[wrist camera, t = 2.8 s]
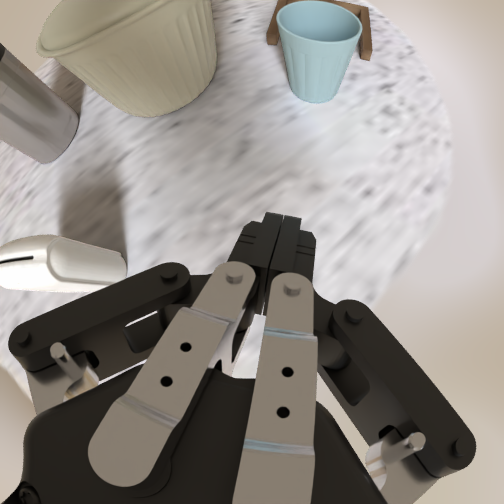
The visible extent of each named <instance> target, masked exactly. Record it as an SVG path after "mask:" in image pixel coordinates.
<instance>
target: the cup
mask: <svg viewBox="0 0 504 504" xmlns="http://www.w3.org/2000/svg"><path fill="white" fill-rule="evenodd" d="M276 20H277V24H278V29H279V33H280V37H281V42H282V47H283V52H284V57H285V62H286V67H287V73H288V78H289V83H290V87H291V90H292V92H293V93H294V94H295V95H296V96H297V97H298V98H300V99H301V100H304V101H306V102H310V103H324V102H327V101H329V100H331V99H332V98H333V97H334V96H335V95H336V93H337V91H338V89H339V87H340V84H341V82H342V79H343V77H344V75H345V72H346V70H347V67H348V65H349V62H350V60H351V57H352V55H353V52H354V50H355V47H356V45H357V43H358V40H359V38H360V35H361V32H362V24H361V22H360V20H359V19H358V18H357V17H356V16H355V15H354V14H353V13H352V12H350V11H349V10H347V9H345V8H343V7H341V6H338V5H336V4H332V3H328V2H323V1H314V0H307V1H298V2H294V3H291V4H288V5H286V6H284V7H283V8H281V9H280V10H279V12H278V13H277V17H276Z"/></svg>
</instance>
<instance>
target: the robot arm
mask: <svg viewBox="0 0 504 504" xmlns="http://www.w3.org/2000/svg"><path fill="white" fill-rule="evenodd" d="M77 126H78V115H77V113H76V112H75V111H74V110H73V109H72V108H71V107H70V106H69V105H68V104H67V103H65V102H64V101H63V100H62V99H61V98H60V97H59V96H58V95H57V94H56V93H55V92H53V91H52V90H51V89H50V88H49V87H48V86H47V85H46V84H45V83H43V82H42V81H41V80H40V79H39V78H38V77H37V76H36V75H35V74H34V73H32V72H31V71H30V70H29V69H28V68H27V67H26V66H25V65H24V64H23V63H21V62H20V61H19V60H18V59H17V58H16V57H15V56H14V55H12V53H10V52H9V51H8V50H7V49H6V48H5V47H4V46H3V45H2V44H1V43H0V140H2V141H4V142H5V143H7V144H9V145H11V146H12V147H14V148H16V149H17V150H19V151H21V152H22V153H24V154H26V155H27V156H29V157H31V158H33V159H34V160H36V161H38V162H40V163H42V164H47V163H50V162H52V161H54V160H55V159H56V158H58V157H59V156H60V155H61V154H62V153H63V152H64V151H65V149H66V148H67V147H68V145H69V144H70V142H71V141H72V139H73V137H74V135H75V132H76V130H77ZM301 219H302V218H297V217H292V216H287V215H285V216H284V219H283V215H281V214H276V213H270V212H266V214H265V216H264V219H263V221H262V223H260V222H255V221H251V222H250V223H248V224H247V225H246V226H244V228H243V230H242V232H241V234H240V236H239V238H238V240H237V242H236V244H235V246H234V248H233V250H232V252H231V254H230V257H229V259H228V261H227V262H226V263H223V264H221V265H219V266H218V267H217V268H216V269H215V270H214V272H213V273H212V274H208V275H190V273H189V270H188V269H187V268H186V267H185V266H184V265H182V264H180V263H175V262H169V263H163V264H160V265H158V266H155V267H153V268H151V269H148V270H146V271H143V272H141V273H138V274H136V275H133V276H131V277H129V278H126V279H124V280H121V281H119V282H117V283H114V284H112V285H109V286H107V287H105V288H102V289H100V290H98V291H95V292H93V293H91V294H88V295H86V296H83V297H81V298H79V299H76V300H74V301H72V302H70V303H67V304H65V305H63V306H60V307H58V308H56V309H53V310H51V311H49V312H47V313H44V314H42V315H40V316H38V317H35V318H33V319H31V320H29V321H26V322H24V323H22V324H20V325H18V326H17V327H16V328H15V329H14V330H13V331H12V333H11V335H10V337H9V341H8V347H9V350H10V352H11V353H12V354H13V356H14V357H15V358H16V359H17V360H18V361H19V363H20V364H21V365H22V367H23V368H24V369H25V371H26V374H27V378H28V383H29V387H30V392H31V396H32V400H33V403H34V407H35V411H36V414H37V416H36V417H35V418H34V419H33V420H32V421H31V423H30V424H29V426H28V427H27V430H26V432H25V436H24V443H23V447H24V449H23V450H24V459H23V460H24V462H23V472H22V478H21V481H20V484H19V486H18V487H17V489H16V490H15V491H14V492H13V493H12V494H11V495H10V496H9V497H8V498H7V499H6V500H5V501H4V502H2V503H1V504H413V503H414V502H415V501H416V500H417V499H419V498H420V497H421V496H422V495H423V494H424V493H425V492H426V491H427V490H428V489H429V488H430V487H431V486H432V485H433V484H434V483H435V482H436V481H437V480H438V479H440V478H442V477H444V476H447V475H449V474H452V473H454V472H457V471H459V470H461V469H464V468H465V467H467V466H468V465H469V464H470V463H471V462H472V460H473V458H474V456H475V452H476V441H475V438H474V436H473V434H472V432H471V431H470V430H469V428H468V427H467V426H466V424H465V423H464V422H463V420H462V419H461V418H460V416H459V415H458V414H457V412H456V411H455V410H454V409H453V407H451V405H450V404H449V402H448V401H447V400H446V399H445V397H444V396H443V395H442V393H441V392H440V391H439V390H438V388H437V387H436V386H435V385H434V384H433V382H432V381H431V380H430V379H429V377H428V376H427V375H426V374H425V373H424V371H423V370H422V369H421V368H420V366H419V365H418V364H417V363H416V362H415V360H414V359H413V358H412V357H411V356H410V355H409V353H408V352H407V351H406V350H405V349H404V348H403V346H402V345H401V344H400V343H399V342H398V340H397V339H396V338H395V337H394V336H393V335H392V334H391V332H390V331H389V330H388V329H387V328H386V327H385V326H384V324H383V323H382V322H381V321H380V320H379V319H378V318H377V317H376V315H375V314H374V313H373V312H372V311H371V310H370V309H369V308H368V307H367V306H366V305H365V304H363V303H361V302H359V301H356V300H349V299H347V300H342V301H340V302H338V303H337V304H333V303H331V302H329V301H327V300H325V299H323V298H322V297H321V296H319V295H318V294H317V292H316V291H315V290H314V288H313V284H312V279H313V270H314V259H315V248H316V239H315V237H314V235H313V233H312V232H308V231H303V230H300V225H301ZM264 302H265V304H264ZM263 306H264V310H263V315H265V316H266V321H265V327H264V333H263V339H262V345H261V351H260V356H259V362H258V368H257V374H256V379H242V378H233V377H231V376H232V372H233V369H234V366H235V364H236V362H237V359H238V357H239V355H240V352H241V350H242V347H243V345H244V343H245V340H246V338H247V335H248V333H249V330H250V325H251V323H252V321H253V318H254V314H259V315H261V313H262V309H263ZM154 311H157V313H156V314H153V315H151V316H149V317H147V318H145V319H142V320H140V321H138V322H136V323H134V324H131V325H129V326H127V327H125V326H126V325H127V324H129V323H130V322H132V321H135V320H137V319H139V318H141V317H143V316H146V315H148V314H150V313H152V312H154ZM146 359H147V361H146V362H145V363H144V364H141V365H138V366H136V367H134V368H132V369H130V370H128V371H126V372H124V373H122V374H120V375H118V376H116V377H114V378H112V379H110V380H108V381H106V382H104V383H102V384H100V385H98V382H99V381H101V380H103V379H105V378H107V377H110V376H112V375H114V374H116V373H118V372H120V371H122V370H125V369H127V368H129V367H131V366H133V365H135V364H137V363H139V362H141V361H143V360H146ZM317 372H318V373H319V375H320V376H321V378H322V379H323V380H324V382H325V383H326V385H327V386H328V388H329V389H330V391H331V392H332V394H333V395H334V396H335V398H336V399H337V401H338V402H339V403H340V405H341V406H342V408H343V409H344V411H345V412H346V414H347V415H348V417H349V418H350V419H351V421H352V422H353V424H354V425H355V427H356V428H357V430H358V431H359V432H360V434H361V435H362V436H363V438H364V440H365V441H366V442H367V444H368V445H369V449H368V451H367V453H366V459H365V461H366V466H367V468H368V470H369V473H370V475H369V473H368V472H367V470H366V469H365V467H364V466H363V464H362V462H361V461H360V459H359V458H358V456H357V454H356V453H355V451H354V449H353V448H352V446H351V445H350V443H349V442H348V440H347V438H346V437H345V435H344V434H343V432H342V430H341V429H340V427H339V425H338V424H337V422H336V421H335V419H334V418H333V416H332V415H331V414H330V413H329V411H328V410H327V409H326V408H325V407H323V406H322V404H320V403H319V402H317V401H316V385H317Z"/></svg>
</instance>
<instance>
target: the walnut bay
mask: <svg viewBox="0 0 504 504" xmlns="http://www.w3.org/2000/svg"><path fill="white" fill-rule="evenodd" d="M298 1H307V0H278V3H277V6H276V9H275V11H274V14H273V17H272V20H271V23H270V25H269V28H268V31H267V43H268V45H277V42H278V39H279V36H280V33H279V29H278V24H277V20H276V17H277V13H278V12H279V10H280V9H281V8H283V7H284V6H286V5H288V4H291V3H294V2H298ZM314 1H323V2H328V3H332V4H336V5H338V6H341V7H343V8H345V9H347V10H349V11H350V12H352V13H353V14H354V15H355V16H356V17H357V18H359V20H360V22H361V24H362V32H361V35H360V57H361V59H363V60H367V61H370V57H371V54H372V39H371V28H370V18H369V10H368V7H364V6H360V5H355V4H350V3H346V2H340V1H335V0H314Z"/></svg>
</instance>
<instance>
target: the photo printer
mask: <svg viewBox="0 0 504 504" xmlns="http://www.w3.org/2000/svg"><path fill="white" fill-rule="evenodd" d="M126 273H127V268H126V263H125V261H124V259H123V258H122V257H121V253H119V252H117V251H113V250H109V249H105V248H101V247H98V246H94V245H90V244H87V243H83V242H79V241H76V240H72V239H69V238H66V237H62V236H56V235H37V236H30V237H25V238H20V239H17V240H13V241H11V242H8V243H6V244H4V245H3V246H1V247H0V286H2V287H4V288H7V289H17V290H31V291H46V292H92V291H98V290H100V289H102V288H105V287H107V286H109V285H112V284H114V283H117V282H119V281H121V280H124V279H125V278H126Z"/></svg>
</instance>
